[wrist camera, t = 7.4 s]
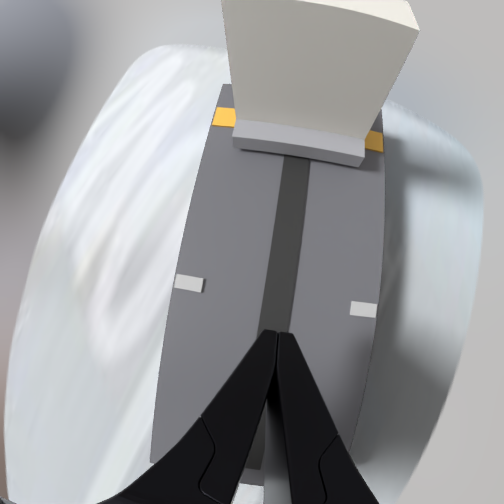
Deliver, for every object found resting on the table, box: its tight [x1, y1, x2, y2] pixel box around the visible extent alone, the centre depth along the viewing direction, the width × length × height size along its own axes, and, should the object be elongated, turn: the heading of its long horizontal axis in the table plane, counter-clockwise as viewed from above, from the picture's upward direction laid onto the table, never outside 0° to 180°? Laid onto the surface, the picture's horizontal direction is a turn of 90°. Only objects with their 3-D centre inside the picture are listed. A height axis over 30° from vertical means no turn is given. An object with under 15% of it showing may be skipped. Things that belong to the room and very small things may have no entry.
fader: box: [221, 0, 420, 167], centre depth 10 cm, size 4×6×8 cm, turn 81°
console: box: [150, 84, 385, 486], centre depth 14 cm, size 20×9×3 cm, turn 171°
